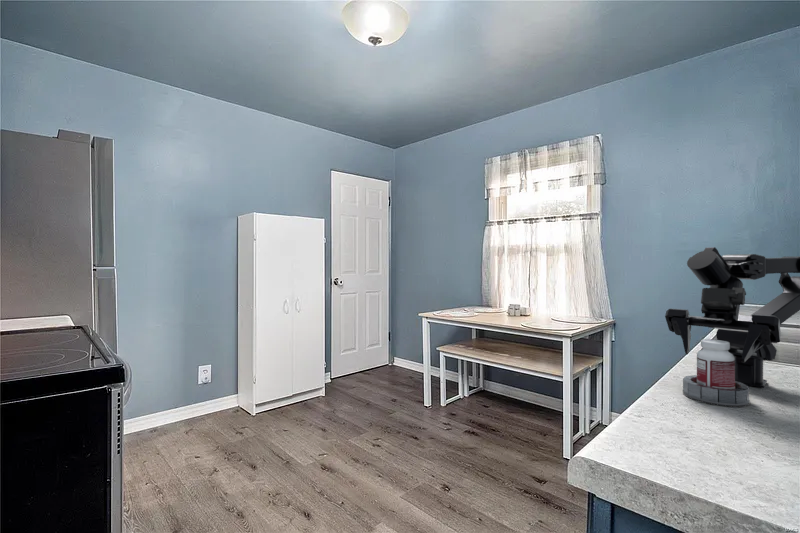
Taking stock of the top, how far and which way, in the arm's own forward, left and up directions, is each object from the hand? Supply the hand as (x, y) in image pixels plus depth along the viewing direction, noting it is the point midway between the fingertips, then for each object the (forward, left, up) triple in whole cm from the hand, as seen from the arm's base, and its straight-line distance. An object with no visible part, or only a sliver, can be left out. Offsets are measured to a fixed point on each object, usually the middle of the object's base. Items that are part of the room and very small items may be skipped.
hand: (713, 356), depth 81 cm
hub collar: (-1, 0, -9) cm, 9 cm away
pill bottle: (-2, 0, -8) cm, 8 cm away
